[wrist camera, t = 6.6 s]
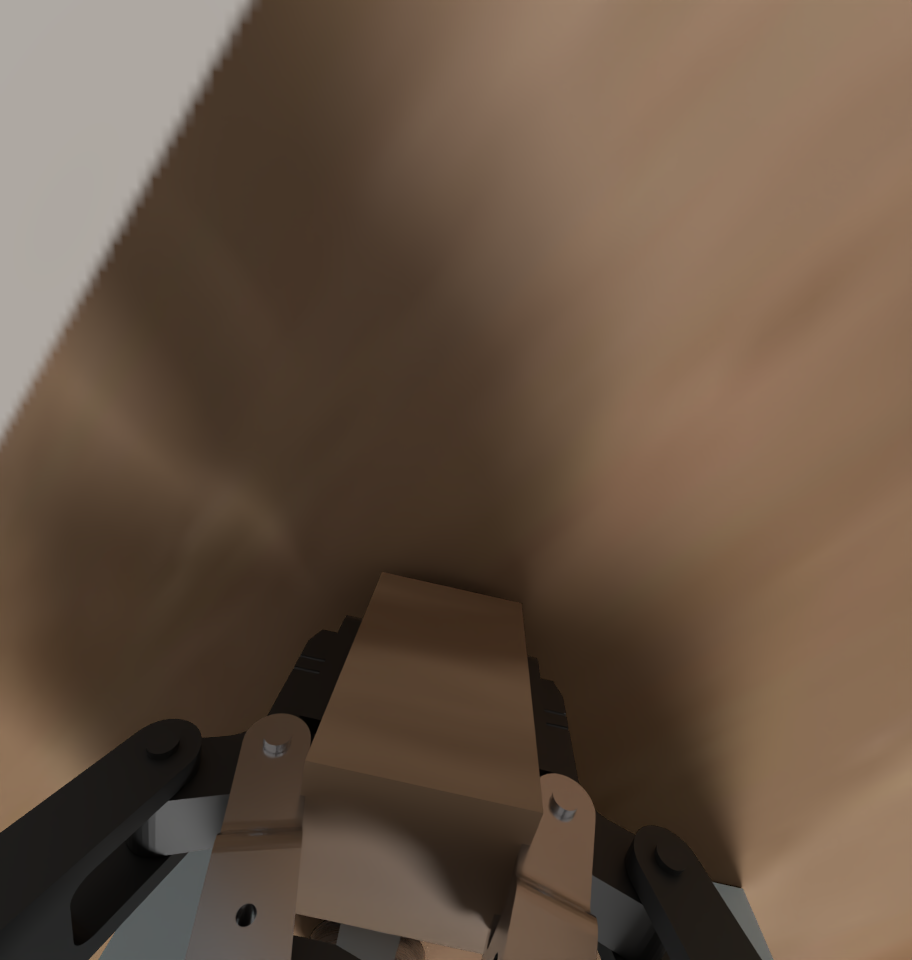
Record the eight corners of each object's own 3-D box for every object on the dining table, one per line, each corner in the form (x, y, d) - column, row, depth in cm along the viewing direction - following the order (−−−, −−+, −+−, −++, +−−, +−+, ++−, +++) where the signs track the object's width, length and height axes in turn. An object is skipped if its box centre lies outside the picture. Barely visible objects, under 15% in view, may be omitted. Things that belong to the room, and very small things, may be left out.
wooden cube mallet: (382, 572, 14) (305, 760, 8) (521, 602, 14) (543, 813, 8) (315, 927, 19) (242, 1184, 14) (414, 949, 19) (382, 1215, 14)
